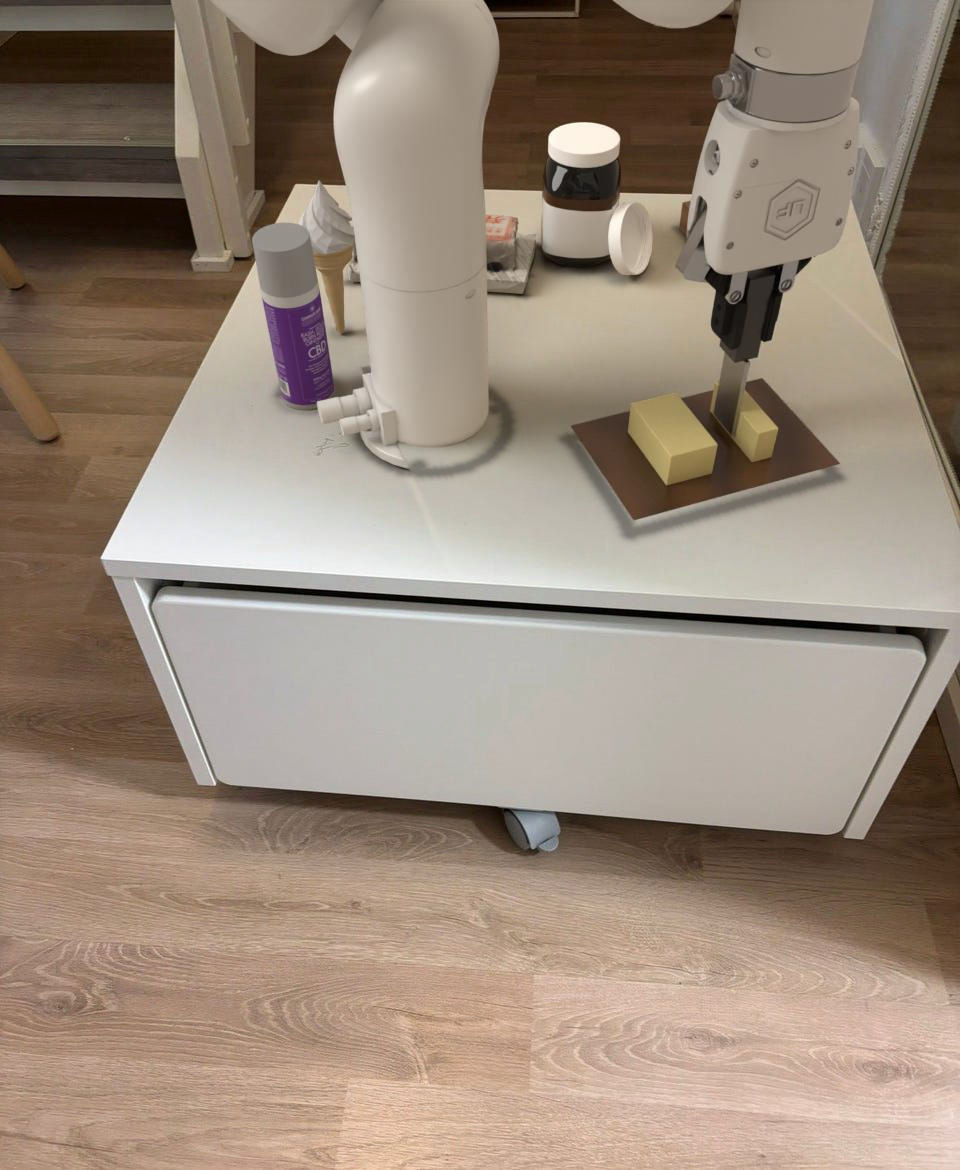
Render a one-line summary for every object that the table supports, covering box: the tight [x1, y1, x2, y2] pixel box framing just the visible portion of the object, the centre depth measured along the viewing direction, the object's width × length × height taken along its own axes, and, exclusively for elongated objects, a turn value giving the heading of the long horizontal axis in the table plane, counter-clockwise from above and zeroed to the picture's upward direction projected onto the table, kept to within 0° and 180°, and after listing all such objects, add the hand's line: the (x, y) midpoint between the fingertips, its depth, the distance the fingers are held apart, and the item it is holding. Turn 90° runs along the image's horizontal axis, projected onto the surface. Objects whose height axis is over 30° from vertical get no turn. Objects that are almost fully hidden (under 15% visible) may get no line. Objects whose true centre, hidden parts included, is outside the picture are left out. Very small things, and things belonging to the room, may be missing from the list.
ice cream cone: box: [296, 179, 356, 335], centre depth 91 cm, size 6×6×15 cm
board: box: [570, 377, 841, 521], centre depth 83 cm, size 18×12×2 cm, turn 110°
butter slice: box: [710, 380, 778, 462], centre depth 82 cm, size 2×7×3 cm, turn 19°
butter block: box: [628, 391, 718, 485], centre depth 81 cm, size 4×7×3 cm, turn 20°
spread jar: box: [540, 121, 654, 276], centre depth 101 cm, size 12×11×12 cm
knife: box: [713, 267, 775, 435], centre depth 78 cm, size 2×3×14 cm, turn 20°
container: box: [251, 222, 336, 411], centre depth 85 cm, size 5×5×15 cm
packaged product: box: [346, 213, 538, 295], centre depth 103 cm, size 18×5×10 cm
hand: (741, 334), depth 77 cm, fingers closed on knife, 2 cm apart
